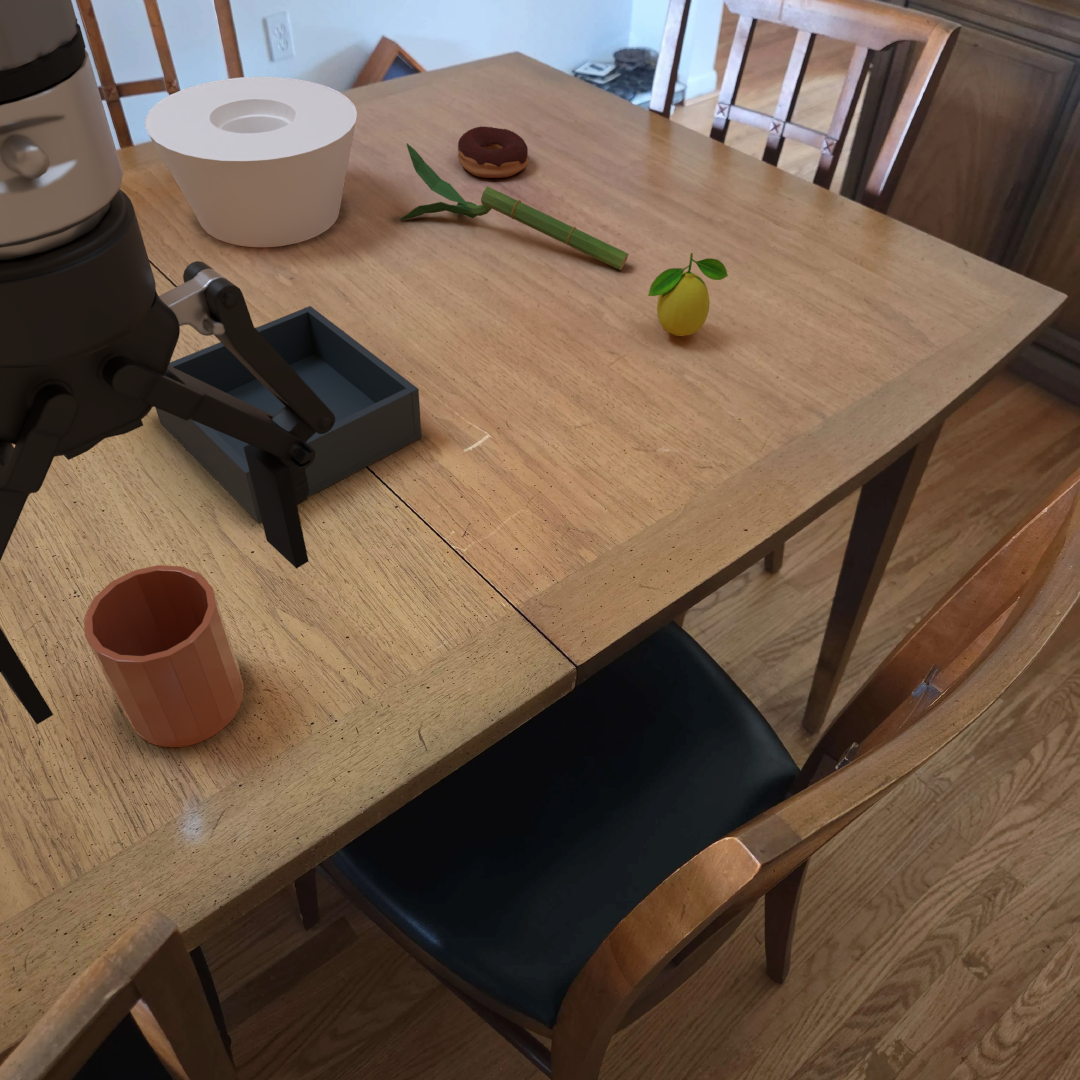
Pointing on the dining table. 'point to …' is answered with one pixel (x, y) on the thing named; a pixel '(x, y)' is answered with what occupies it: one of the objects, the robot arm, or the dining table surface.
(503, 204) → the decorative plant
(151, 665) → the cup
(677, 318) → the lemon
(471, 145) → the donut
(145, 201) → the dining table surface
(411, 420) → the bin
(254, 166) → the white tapered round pot
